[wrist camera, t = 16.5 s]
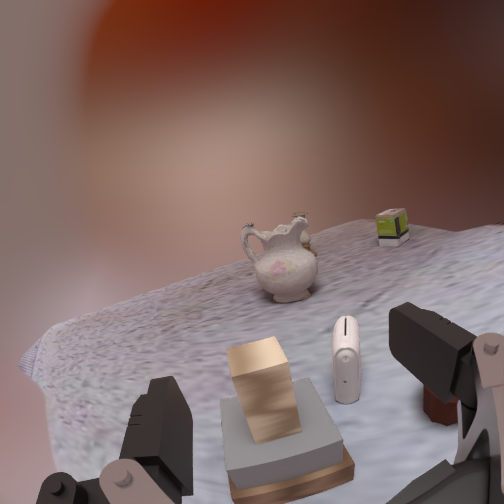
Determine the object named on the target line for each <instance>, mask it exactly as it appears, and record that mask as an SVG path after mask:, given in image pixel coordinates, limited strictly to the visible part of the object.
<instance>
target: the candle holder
mask: <svg viewBox="0 0 504 504" xmlns="http://www.w3.org/2000/svg"><path fill="white" fill-rule="evenodd" d="M306 214H308V212H307V211H304V212H298V213H294V214H292V217H296V218H297V217H299V216H301V217H303V218H305V215H306ZM300 242H301V245H302V247H303V248H305V249H306V250H308V251H310V252H311V253H313V254H314V256H316V255H317V253H316V252H315V251H314V250H310V246H311V244H310V243H309V242H310V236H309V235H308V233H307V231H306V228H305V229H304V230H303V231H302V233H301V236H300Z"/></svg>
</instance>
